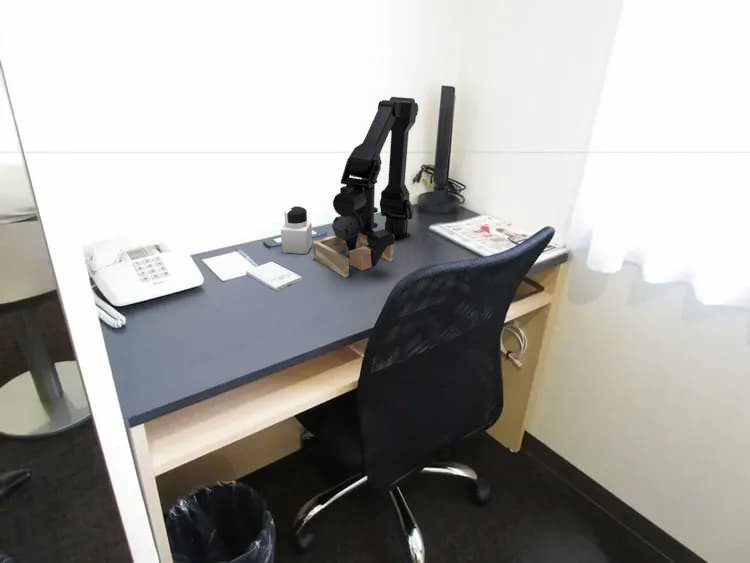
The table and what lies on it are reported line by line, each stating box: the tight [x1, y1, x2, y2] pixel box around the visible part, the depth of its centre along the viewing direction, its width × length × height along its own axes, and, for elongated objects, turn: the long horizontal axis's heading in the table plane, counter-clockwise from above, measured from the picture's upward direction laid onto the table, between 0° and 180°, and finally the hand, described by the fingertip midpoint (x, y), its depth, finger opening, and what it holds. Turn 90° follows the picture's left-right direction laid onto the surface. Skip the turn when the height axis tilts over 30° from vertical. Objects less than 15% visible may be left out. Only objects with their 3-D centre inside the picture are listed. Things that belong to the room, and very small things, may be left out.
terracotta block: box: [348, 246, 373, 271], centre depth 128 cm, size 5×5×4 cm
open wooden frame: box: [312, 233, 394, 278], centre depth 130 cm, size 16×14×5 cm
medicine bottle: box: [280, 205, 313, 255], centre depth 134 cm, size 7×7×12 cm
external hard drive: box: [245, 261, 303, 292], centre depth 121 cm, size 2×8×12 cm
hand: (362, 260), depth 128 cm, fingers open, 9 cm apart
